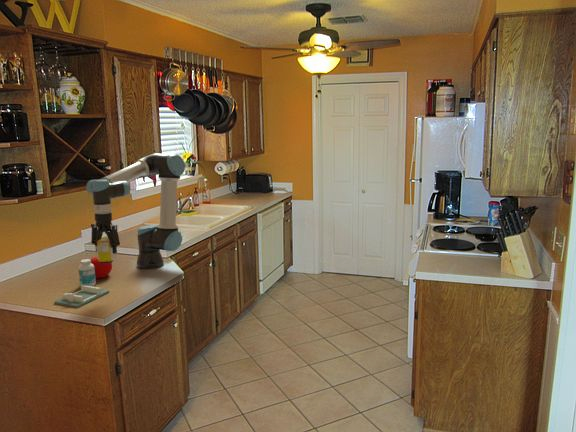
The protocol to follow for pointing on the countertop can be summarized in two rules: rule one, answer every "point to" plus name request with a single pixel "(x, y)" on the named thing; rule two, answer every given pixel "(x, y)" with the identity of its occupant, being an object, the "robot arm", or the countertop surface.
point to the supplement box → (104, 250)
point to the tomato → (101, 268)
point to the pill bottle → (87, 273)
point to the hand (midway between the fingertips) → (106, 258)
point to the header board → (81, 296)
